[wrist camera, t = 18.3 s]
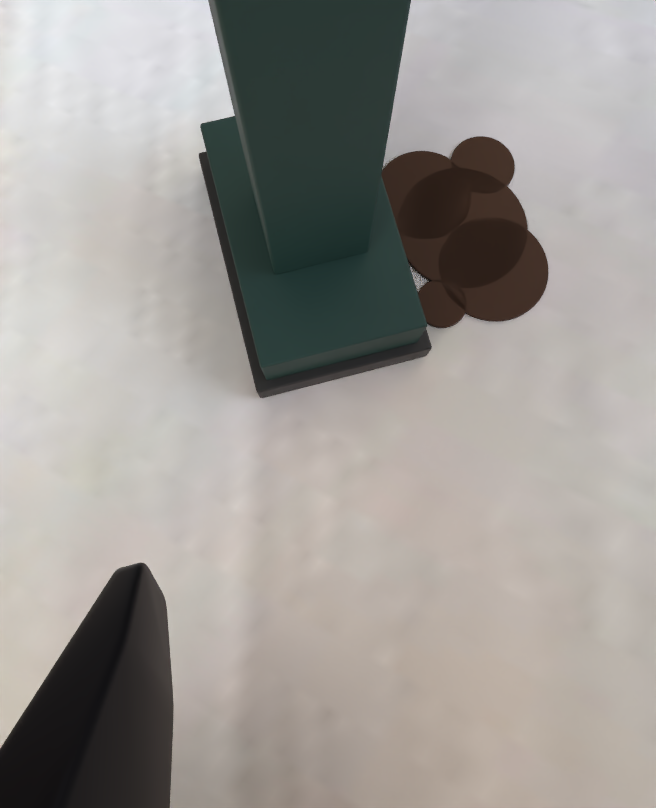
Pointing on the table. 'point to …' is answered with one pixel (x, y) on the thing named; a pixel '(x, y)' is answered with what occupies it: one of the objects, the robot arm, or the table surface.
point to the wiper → (311, 188)
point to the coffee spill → (466, 233)
